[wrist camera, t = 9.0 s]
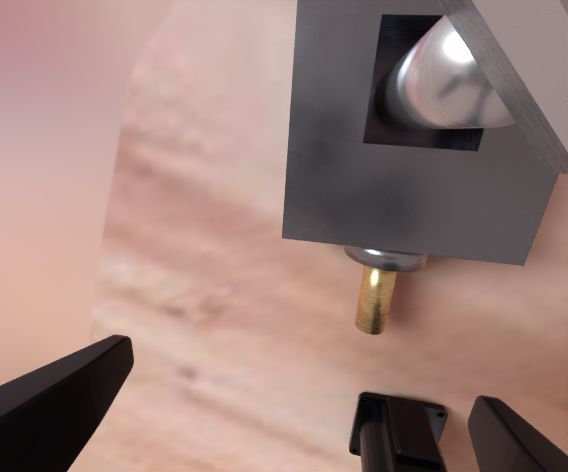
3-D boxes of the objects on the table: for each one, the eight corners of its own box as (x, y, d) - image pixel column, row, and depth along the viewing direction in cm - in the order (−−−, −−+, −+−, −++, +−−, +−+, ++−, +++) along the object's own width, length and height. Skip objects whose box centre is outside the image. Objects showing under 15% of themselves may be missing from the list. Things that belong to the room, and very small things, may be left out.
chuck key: (476, 121, 14) (702, 103, 6) (418, 165, 15) (534, 206, 7) (403, 14, 13) (543, -202, 5) (346, 69, 14) (375, -26, 6)
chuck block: (447, 314, 20) (484, 370, 15) (287, 292, 21) (275, 337, 16) (562, -66, 13) (691, -178, 8) (315, -63, 14) (307, -158, 10)
